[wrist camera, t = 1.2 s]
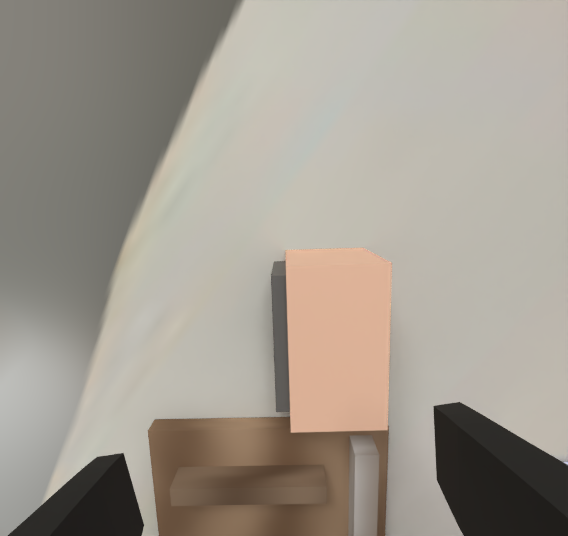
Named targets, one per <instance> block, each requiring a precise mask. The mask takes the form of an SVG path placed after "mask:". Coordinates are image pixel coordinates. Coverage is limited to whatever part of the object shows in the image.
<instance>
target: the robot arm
mask: <svg viewBox="0 0 568 536" xmlns="http://www.w3.org/2000/svg"><path fill="white" fill-rule="evenodd" d="M434 426H435V448H436V470H437V481H438V483H439V485H440V488H441V490H442V492H443V494H444V496H445V498H446V501H447V503H448V505H449V507H450V509H451V511H452V513H453V515H454V517H455V519H456V522H457V524H458V526H459V528H460V530H461V532H462V533H463V535H464V536H568V462H562V461H560V460H558V459H556V458H555V457H553V456H551V455H549V454H548V453H546V452H544V451H542V450H541V449H539V448H537V447H536V446H534V445H532V444H530V443H529V442H527V441H525V440H524V439H522V438H520V437H519V436H517V435H515V434H514V433H512V432H510V431H508V430H507V429H505V428H503V427H502V426H500V425H498V424H497V423H495V422H493V421H492V420H490V419H488V418H487V417H485V416H483V415H481V414H480V413H478V412H476V411H475V410H473V409H471V408H469V407H468V406H466V405H464V404H462V403H460V402H457V403H451V404H444V405H438V406H434ZM143 527H144V524H143V520H142V517H141V513H140V510H139V506H138V503H137V499H136V496H135V492H134V489H133V485H132V481H131V478H130V474H129V471H128V467H127V464H126V460H125V457H124V453H121V454H114V455H108V456H101V457H97V458H95V459H94V460H93V461H92V462H90V463H89V464H88V465H87V466H85V467H84V468H83V469H82V470H81V471H80V472H78V473H77V474H76V475H75V476H74V477H73V478H72V479H70V480H69V481H68V482H67V483H66V484H65V485H64V486H63V487H61V488H60V489H59V490H58V491H57V492H56V493H55V494H54V495H53V496H51V497H50V498H49V499H48V500H47V501H46V502H45V503H44V504H43V505H41V506H40V507H39V508H38V509H37V510H36V511H35V512H34V513H33V514H32V515H30V517H28V518H27V519H26V520H25V521H24V522H22V523H21V524H20V525H19V526H18V527H17V528H16V529H15V530H14V531H13V532H11V533H10V534H9V535H8V536H141V535H142V531H143Z"/></svg>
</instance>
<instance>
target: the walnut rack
mask: <svg viewBox="0 0 568 536" xmlns="http://www.w3.org/2000/svg"><path fill="white" fill-rule="evenodd" d="M388 434H389V426H388V430H376V431H336V432H295V433H291V423H290V417H264V418H211V419H157V420H154V422H153V423H152V425H151V427H150V428H149V430H148V437H149V446H150V456H151V465H152V475H153V484H154V493H155V503H156V512H157V522H158V531H159V536H385V520H386V491H387V463H388Z"/></svg>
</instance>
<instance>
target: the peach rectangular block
mask: <svg viewBox="0 0 568 536" xmlns="http://www.w3.org/2000/svg"><path fill="white" fill-rule="evenodd" d="M391 279H392V263H391V262H389V261H387V260H385V259H383V258H381V257H380V256H378V255H376V254H374V253H372V252H370V251H368V250H366V249H364V248H337V249H303V250H286V261H280V262H274V265H273V269H272V274H271V285H272V311H273V337H274V364H275V390H276V412H290V423H291V433H295V432H336V431H376V430H388V395H389V356H390V318H391Z"/></svg>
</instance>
